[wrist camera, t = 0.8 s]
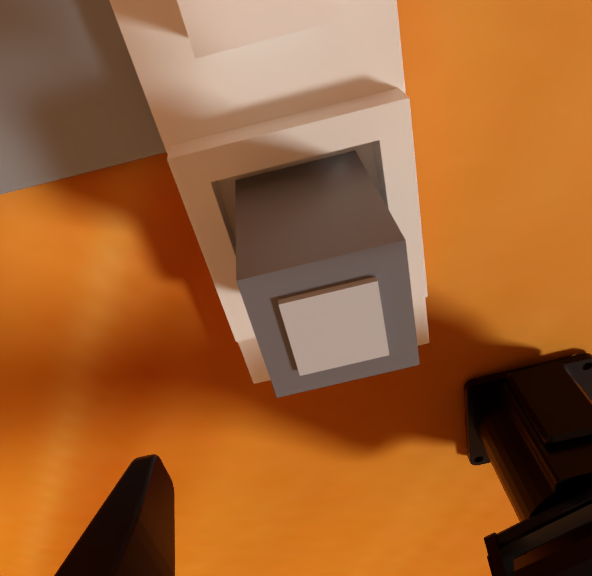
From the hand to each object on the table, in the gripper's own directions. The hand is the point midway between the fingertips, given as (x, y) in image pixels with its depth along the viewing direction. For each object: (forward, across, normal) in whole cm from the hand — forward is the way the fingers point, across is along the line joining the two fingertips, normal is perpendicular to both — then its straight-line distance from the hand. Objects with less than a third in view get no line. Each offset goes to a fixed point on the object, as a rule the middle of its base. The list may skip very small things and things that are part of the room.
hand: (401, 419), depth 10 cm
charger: (+10, +1, +1) cm, 10 cm away
